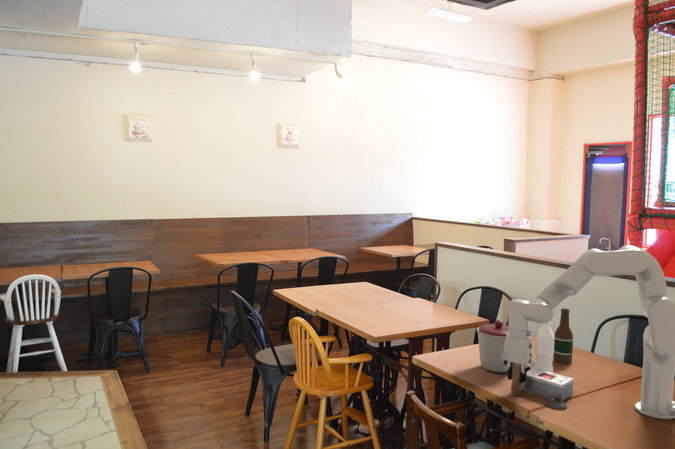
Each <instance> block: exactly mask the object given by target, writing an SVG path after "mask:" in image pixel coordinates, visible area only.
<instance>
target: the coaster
mask: <svg viewBox="0 0 675 449" xmlns="http://www.w3.org/2000/svg"><path fill="white" fill-rule="evenodd" d="M545 406H546V407H548V408H550V409H553V410H558V411H564V410H567V408H568V404H567V403H566V402H565V401H563V402H561V401H557V400H551V399H548V400H547V401H546V402H545Z"/></svg>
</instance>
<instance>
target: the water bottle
mask: <svg viewBox="0 0 675 449" xmlns="http://www.w3.org/2000/svg"><path fill="white" fill-rule="evenodd" d="M551 324H552V323H551V321H550V322H548V323H544V324H542V323H541V326H540V327H539V328H538V330H537V332H536V334H535V348H534V352H535V361H534V363H535V365H536V367H535V368H536V369H540V370H544V371H547V372H551V373H554V366H553V355H554V336H555V333H554V332H553V330H552V327H551Z"/></svg>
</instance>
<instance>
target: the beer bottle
mask: <svg viewBox="0 0 675 449" xmlns="http://www.w3.org/2000/svg"><path fill="white" fill-rule="evenodd" d="M559 320H560V321H559V326H558V327H557V328H556V330H555V332H554V353H553V357H552V359H553V361H554V363H556V364H559V365H566V366H567V365H571V364H572V362H573V361H572V360H573V348H574V346H573V345H574V335H573V331H572V330H571V327H570V309H569V308H565V307H564V308H560V319H559Z"/></svg>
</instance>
